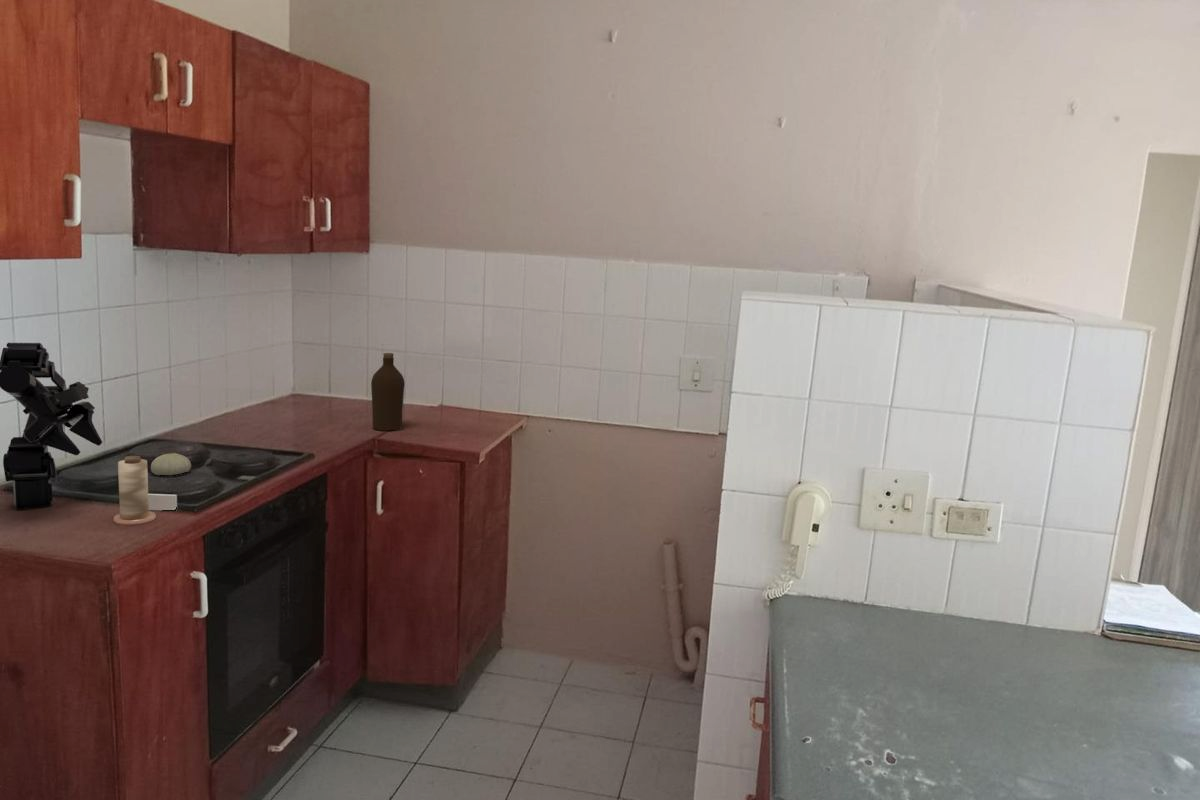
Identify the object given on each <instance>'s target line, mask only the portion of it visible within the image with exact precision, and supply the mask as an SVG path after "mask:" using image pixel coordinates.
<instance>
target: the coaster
mask: <svg viewBox="0 0 1200 800" xmlns="http://www.w3.org/2000/svg"><path fill="white" fill-rule="evenodd" d="M156 514H157V513H156V512H154V511H152V510H149V516H148V517H146V518H143V519H139V520H123V519H121V518H120V513H117V514H116V515H114V516H113V522H114V524H117V525H123V526H124V525H125V526H133V525H141V524H146V523H149V522H150V523H151V522H152V521H154V520H155V519H156V518H157V515H156Z"/></svg>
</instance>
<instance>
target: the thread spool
mask: <svg viewBox="0 0 1200 800" xmlns="http://www.w3.org/2000/svg"><path fill="white" fill-rule="evenodd" d="M117 469H118V471H117V472H118V473H117V475H118V476H117V477H118V494H119V495H118V496H119V499H118V500H119V514H120V518H121V519H123V520H139V519H143V518H146V517H148V516H149V511H150V510H149V501H148V494H149V474H148V460H147V459H143V458H141V456H139V455H128V456H127V455H126V456H124V459H122V460H119V461H118V462H117Z"/></svg>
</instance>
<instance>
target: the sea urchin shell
mask: <svg viewBox="0 0 1200 800" xmlns="http://www.w3.org/2000/svg"><path fill="white" fill-rule="evenodd" d="M191 469H192V464H191V460H190V459H189V458H188V457H186V456H184V455H182V454H179V453H164V454H160V455H159V456H157V457H156V458H155V459H154V460H152V462H151V464H150V471H151V473H152V474H154V475H156V476H160V475H172V474H179V473H184V472H187V473H188V472H190V470H191ZM184 474H185V473H184Z"/></svg>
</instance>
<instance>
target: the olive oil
mask: <svg viewBox="0 0 1200 800" xmlns="http://www.w3.org/2000/svg"><path fill="white" fill-rule="evenodd" d="M382 354H383V357H382V366H381V367H379V368H378V369H377V371H376V372H375V373H374V374H373V376H372V378H371V380H370V381H371V384H370V385H371V386H370V387H371V409H372V410H371V411H372V412H371V413H372V415H371V416H372V429H373V428H374V429H373V430H375V429H377V430H376V431H379V430H396V429H400V428H401V429H402V428H403V427H402V426H403V413H404V411H403V409H404V399H405V397H404V396H405V395H404V394H405V379H404V376H403V374H402V372H401V371H399V370H398V368H397V367H396V366H395V364H394V353H393V352H384V353H382ZM401 429H400V430H401Z"/></svg>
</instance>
